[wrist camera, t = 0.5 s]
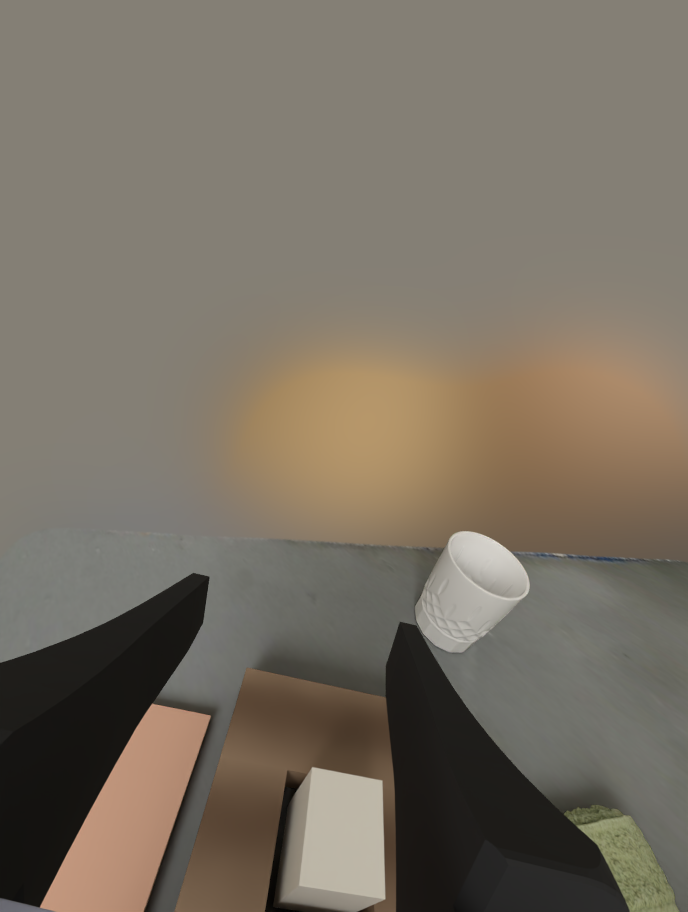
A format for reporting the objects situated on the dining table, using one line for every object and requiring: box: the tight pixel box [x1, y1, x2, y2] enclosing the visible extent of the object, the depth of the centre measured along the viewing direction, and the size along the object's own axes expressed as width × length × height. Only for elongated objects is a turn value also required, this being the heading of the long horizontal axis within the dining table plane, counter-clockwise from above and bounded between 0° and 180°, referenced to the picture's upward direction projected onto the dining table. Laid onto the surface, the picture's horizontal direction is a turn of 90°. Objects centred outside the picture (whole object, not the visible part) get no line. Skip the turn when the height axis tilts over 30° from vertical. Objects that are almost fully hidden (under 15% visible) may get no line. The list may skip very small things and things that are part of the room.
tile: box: [40, 704, 211, 912], centre depth 19 cm, size 11×11×1 cm
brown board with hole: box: [174, 668, 396, 912], centre depth 19 cm, size 16×14×3 cm
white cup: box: [415, 531, 530, 653], centre depth 34 cm, size 8×8×10 cm
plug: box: [273, 767, 385, 912], centre depth 18 cm, size 4×4×7 cm
